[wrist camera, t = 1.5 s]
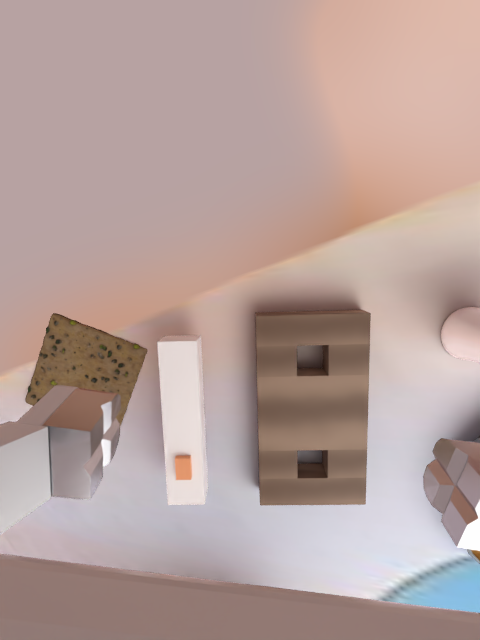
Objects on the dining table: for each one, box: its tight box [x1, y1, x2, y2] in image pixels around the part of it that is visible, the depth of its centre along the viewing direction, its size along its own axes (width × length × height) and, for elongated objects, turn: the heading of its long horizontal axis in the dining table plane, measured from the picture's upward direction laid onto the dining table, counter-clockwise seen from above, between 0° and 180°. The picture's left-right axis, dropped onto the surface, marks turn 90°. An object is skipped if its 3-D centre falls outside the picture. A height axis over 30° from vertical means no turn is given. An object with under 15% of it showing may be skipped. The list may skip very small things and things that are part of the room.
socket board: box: [255, 310, 370, 505], centre depth 39 cm, size 22×12×3 cm, turn 2°
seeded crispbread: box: [26, 313, 147, 426], centre depth 41 cm, size 12×12×1 cm
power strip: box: [157, 335, 208, 505], centre depth 38 cm, size 18×4×6 cm, turn 2°
